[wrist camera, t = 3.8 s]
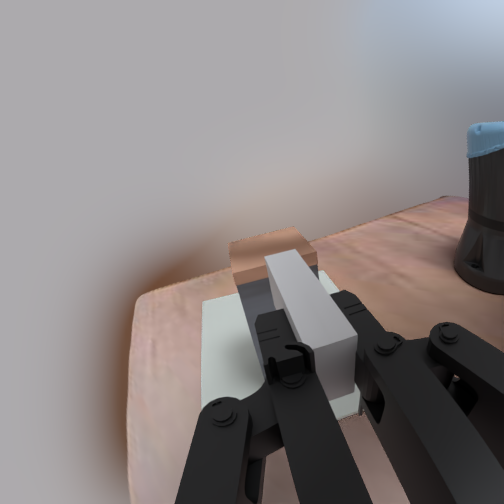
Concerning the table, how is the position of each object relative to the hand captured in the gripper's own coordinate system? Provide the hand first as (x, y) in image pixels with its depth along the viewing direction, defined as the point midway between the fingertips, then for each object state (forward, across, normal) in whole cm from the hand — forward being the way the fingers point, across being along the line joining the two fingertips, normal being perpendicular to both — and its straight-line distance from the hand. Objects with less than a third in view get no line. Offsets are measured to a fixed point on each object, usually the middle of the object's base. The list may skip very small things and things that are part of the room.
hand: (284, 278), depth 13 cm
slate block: (+9, +1, -16) cm, 18 cm away
